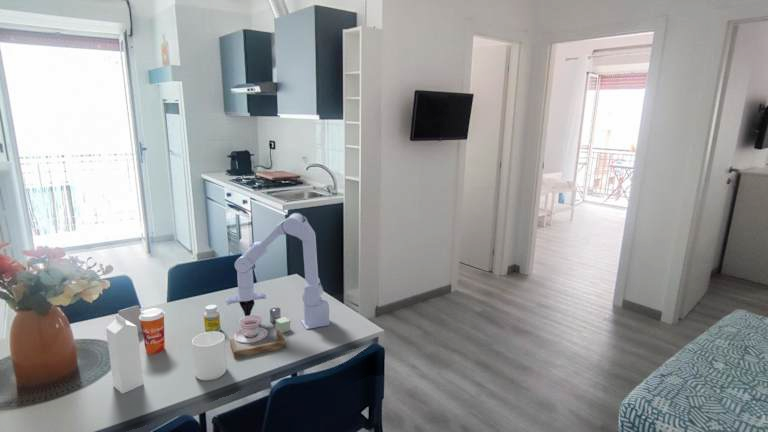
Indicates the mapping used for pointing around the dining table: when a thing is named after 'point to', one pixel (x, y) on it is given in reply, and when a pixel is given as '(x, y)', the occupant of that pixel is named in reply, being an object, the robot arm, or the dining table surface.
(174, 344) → the dining table surface
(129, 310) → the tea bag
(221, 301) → the dining table surface
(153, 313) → the paper cup
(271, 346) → the wooden cradle
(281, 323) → the sage block
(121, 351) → the milk
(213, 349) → the mug
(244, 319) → the teacup
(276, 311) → the grey canister
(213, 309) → the supplement bottle
